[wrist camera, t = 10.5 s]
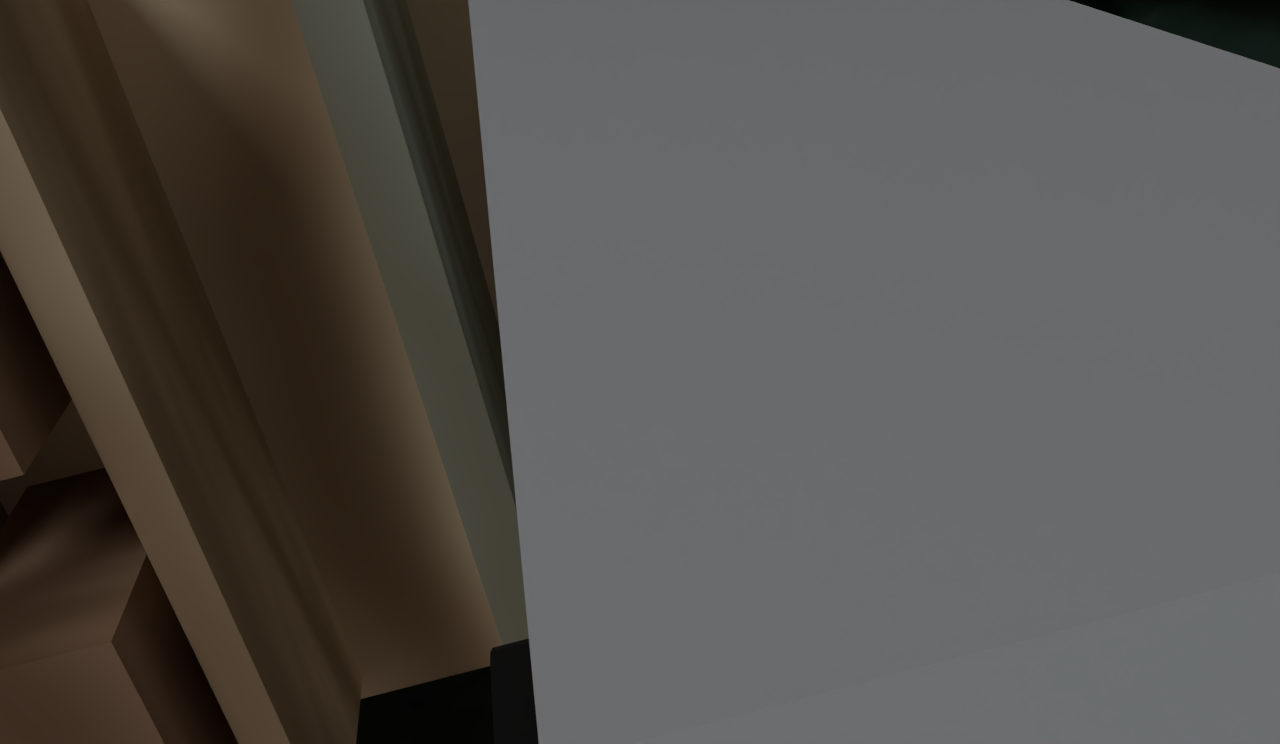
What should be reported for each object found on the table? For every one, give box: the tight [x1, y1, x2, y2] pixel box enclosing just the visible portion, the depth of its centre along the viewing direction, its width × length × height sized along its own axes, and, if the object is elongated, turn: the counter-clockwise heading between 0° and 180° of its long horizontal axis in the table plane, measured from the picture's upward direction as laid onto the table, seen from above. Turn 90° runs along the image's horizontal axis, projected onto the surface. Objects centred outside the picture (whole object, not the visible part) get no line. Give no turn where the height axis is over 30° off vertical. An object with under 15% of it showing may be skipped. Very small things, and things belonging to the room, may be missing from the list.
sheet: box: [468, 0, 1280, 744], centre depth 11 cm, size 2×12×15 cm, turn 12°
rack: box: [0, 0, 529, 744], centre depth 20 cm, size 19×17×8 cm
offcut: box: [0, 468, 238, 744], centre depth 22 cm, size 3×6×6 cm, turn 12°
